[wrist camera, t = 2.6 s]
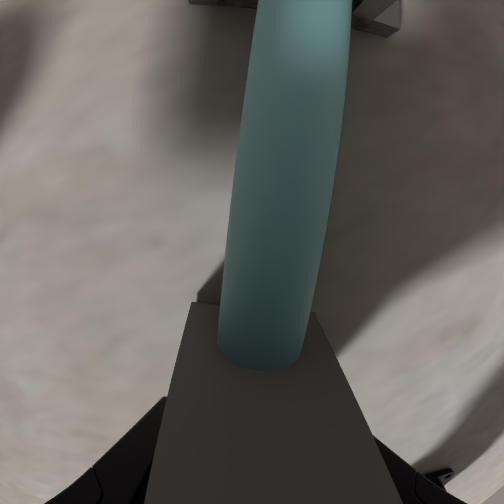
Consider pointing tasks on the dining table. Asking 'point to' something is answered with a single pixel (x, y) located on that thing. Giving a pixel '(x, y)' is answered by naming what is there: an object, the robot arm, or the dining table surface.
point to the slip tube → (273, 299)
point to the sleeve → (363, 15)
